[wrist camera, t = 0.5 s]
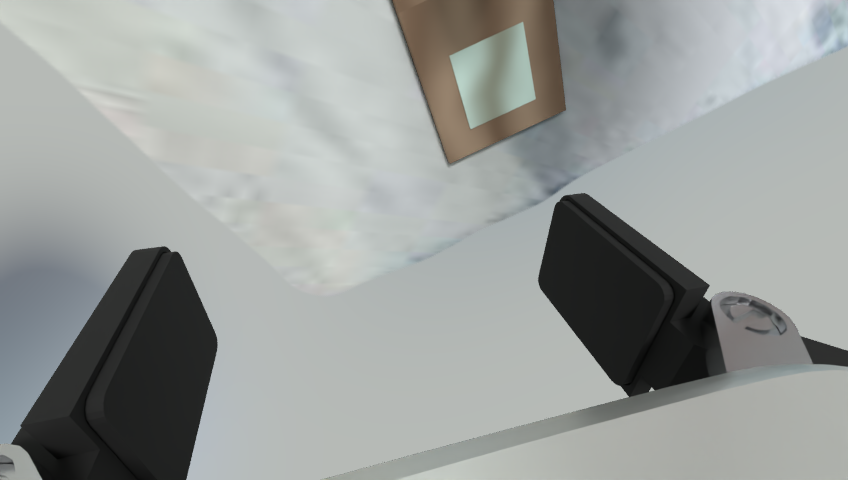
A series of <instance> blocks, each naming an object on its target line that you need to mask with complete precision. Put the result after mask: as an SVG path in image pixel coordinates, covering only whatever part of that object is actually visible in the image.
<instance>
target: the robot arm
mask: <svg viewBox="0 0 848 480" xmlns="http://www.w3.org/2000/svg"><path fill="white" fill-rule="evenodd" d="M538 282H539V286H540V288H541V290H542V291H543V293H544V294H545V295H546V296H547V298H548V299H549V300H550V301H551V303H552V304H553V305H554V307H555V308H556V309H557V311H558V312H559V313H560V314H561V316H562V317H563V318H564V320H565V321H566V322H567V323H568V325H569V326H570V327H571V329H572V330H573V331H574V333H575V334H576V335H577V337H578V338H579V339H580V340H581V342H582V343H583V344H584V346H585V347H586V348H587V349H588V351H589V352H590V353H591V355H592V356H593V357H594V358H595V360H596V361H597V362H598V364H599V365H600V366H601V367H602V369H603V370H604V371H605V372H606V374H607V375H608V377H609V378H610V379H611V380H612V381H613V382H614V383H615V384H617V385H619V386H621V387H622V388H623V389H624V391H625V392H626V393H627V395H628V396H629V397H628V398H624V399H620V400H617V401H613V402H609V403H605V404H601V405H598V406H594V407H590V408H586V409H582V410H579V411H575V412H571V413H567V414H563V415H560V416H556V417H552V418H548V419H544V420H541V421H537V422H533V423H530V424H526V425H522V426H518V427H514V428H511V429H507V430H503V431H499V432H496V433H492V434H488V435H484V436H481V437H477V438H473V439H470V440H466V441H462V442H459V443H455V444H451V445H447V446H444V447H440V448H436V449H432V450H429V451H425V452H421V453H417V454H414V455H410V456H406V457H403V458H399V459H395V460H392V461H388V462H384V463H381V464H377V465H373V466H370V467H366V468H363V469H359V470H355V471H352V472H348V473H344V474H341V475H337V476H333V477H329V478H326V479H322V480H848V351H847V350H843V349H840V348H836V347H834V346H830V345H827V344H824V343H821V342H817V341H814V340H811V339H808V338H804V337H801V336H800V335H799V332H798V330H797V328H796V326H795V324H794V323H793V322H792V320H791V319H790V318H789V317H788V316H787V315H786V314H785V313H783V312H782V311H781V310H780V309H778V308H777V307H775V306H773V305H772V304H770V303H768V302H766V301H764V300H762V299H759V298H757V297H754V296H751V295H747V294H744V293H739V292H721V293H718V294H715V295H714V297H712V299H711V300H710V302H709V301H708V300H707V299H705V298H704V297H703V296H704V294H705V293H706V291H707V289H708V287H709V284H707V283H706V282H704V281H703V280H702V279H701V278H699V277H698V276H696V275H695V274H694V273H693V272H691V271H690V270H688V269H687V268H686V267H684V266H683V265H682V264H680V263H679V262H678V261H676V260H675V259H674V258H672V257H671V256H670V255H668V254H667V253H666V252H664V251H663V250H662V249H660V248H659V247H658V246H656V245H655V244H653V243H652V242H651V241H649V240H648V239H647V238H645V237H644V236H643V235H641V234H640V233H639V232H637V231H636V230H635V229H633V228H632V227H630V226H629V225H628V224H627V223H625V222H624V221H623V220H621V219H620V218H619V217H617V216H616V215H615V214H613V213H612V212H610V211H609V210H608V209H606V208H605V207H604V206H602V205H601V204H600V203H598V202H597V201H596V200H594V199H593V198H592V197H590V196H589V195H587V194H585V193H581V194H573V195H566V196H563V197H562V198H561V200H560V202H557V203H556V205H555V208H554V212H553V216H552V221H551V225H550V229H549V234H548V238H547V243H546V247H545V251H544V255H543V260H542V264H541V268H540V273H539V278H538ZM216 352H217V337H216V334H215V331H214V329H213V327H212V325H211V322H210V320H209V318H208V316H207V313H206V311H205V309H204V307H203V304H202V302H201V300H200V298H199V295H198V293H197V291H196V289H195V286H194V284H193V282H192V280H191V277H190V275H189V273H188V271H187V268H186V266H185V264H184V262H183V259H182V257H181V255H180V254H179V253H178V252H171V251H170V250H169V249H168V248H167V247H156V248H148V249H140V250H135V251H133V252H132V253H131V254H130V256H129V257H128V259H127V261H126V262H125V264H124V265H123V267H122V268H121V270H120V271H119V273H118V274H117V276H116V278H115V279H114V281H113V282H112V284H111V285H110V287H109V289H108V290H107V292H106V293H105V295H104V296H103V298H102V300H101V301H100V302H99V304H98V306H97V307H96V309H95V310H94V312H93V313H92V315H91V317H90V318H89V320H88V321H87V323H86V324H85V326H84V327H83V329H82V331H81V332H80V334H79V335H78V337H77V338H76V340H75V341H74V343H73V345H72V346H71V348H70V349H69V351H68V352H67V354H66V356H65V357H64V359H63V360H62V362H61V363H60V365H59V366H58V368H57V370H56V371H55V373H54V374H53V376H52V377H51V379H50V380H49V382H48V384H47V385H46V387H45V388H44V390H43V391H42V393H41V394H40V396H39V398H38V399H37V401H36V402H35V404H34V405H33V407H32V408H31V410H30V412H29V413H28V415H27V416H26V418H25V419H24V421H23V422H22V424H21V427H22V428H21V429H20V431H19V432H18V434H17V435H16V437H15V438H14V440H13V442H12V443H11V444H0V480H186V478H187V474H188V469H189V466H190V461H191V457H192V453H193V449H194V445H195V440H196V436H197V432H198V428H199V424H200V419H201V415H202V411H203V407H204V403H205V398H206V394H207V390H208V385H209V382H210V377H211V373H212V369H213V365H214V361H215V356H216ZM651 387H652V388H653V389H654V390H655V391H651V392H649V390H650V389H651Z"/></svg>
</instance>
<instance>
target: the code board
mask: <svg viewBox="0 0 848 480" xmlns="http://www.w3.org/2000/svg"><path fill="white" fill-rule="evenodd" d="M392 2H393V5H394V8H395V11H396V14H397V16H398V19H399V22H400V25H401V28H402V31H403V34H404V36H405V39H406V42H407V45H408V48H409V51H410V54H411V57H412V59H413V62H414V65H415V68H416V71H417V74H418V77H419V80H420V82H421V85H422V88H423V91H424V94H425V97H426V100H427V103H428V105H429V108H430V111H431V114H432V117H433V120H434V123H435V125H436V128H437V131H438V134H439V137H440V140H441V143H442V146H443V148H444V151H445V154H446V157H447V160H448V162H449V163H453V162H455V161H457V160H459V159H461V158H463V157H466V156H468V155H470V154H472V153H474V152H476V151H478V150H481V149H483V148H485V147H487V146H489V145H491V144H494V143H496V142H498V141H500V140H502V139H504V138H507V137H509V136H511V135H513V134H515V133H517V132H519V131H522V130H524V129H526V128H528V127H530V126H532V125H535V124H537V123H539V122H541V121H543V120H545V119H547V118H550V117H552V116H554V115H556V114H558V113H560V112H563V111H565V110H566V106H565V97H564V89H563V80H562V71H561V63H560V54H559V45H558V37H557V28H556V19H555V11H554V2H553V0H392Z"/></svg>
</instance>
